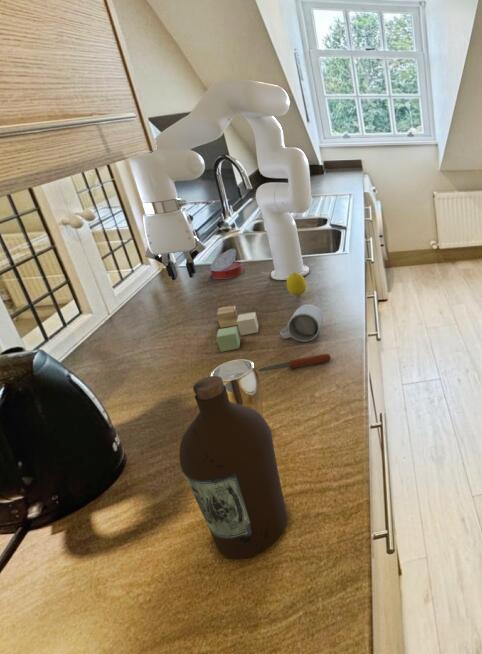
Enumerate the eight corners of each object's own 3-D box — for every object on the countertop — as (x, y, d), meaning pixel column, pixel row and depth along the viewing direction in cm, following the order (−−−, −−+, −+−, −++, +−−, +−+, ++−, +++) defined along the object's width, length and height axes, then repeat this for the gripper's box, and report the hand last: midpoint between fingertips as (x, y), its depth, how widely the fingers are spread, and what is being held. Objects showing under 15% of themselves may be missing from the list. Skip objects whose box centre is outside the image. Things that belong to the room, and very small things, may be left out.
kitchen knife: (331, 359, 106) (329, 351, 105) (331, 362, 105) (330, 354, 104) (258, 373, 101) (256, 365, 101) (258, 376, 100) (256, 368, 99)
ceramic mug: (325, 325, 121) (320, 299, 118) (321, 340, 114) (316, 313, 111) (285, 330, 120) (279, 303, 117) (278, 345, 113) (271, 318, 110)
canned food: (242, 287, 161) (237, 268, 154) (211, 287, 158) (204, 268, 151) (245, 263, 168) (240, 244, 160) (215, 264, 165) (209, 244, 158)
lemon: (310, 293, 142) (306, 269, 139) (303, 300, 137) (298, 276, 134) (294, 292, 143) (289, 269, 140) (286, 300, 138) (280, 276, 134)
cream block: (241, 328, 122) (238, 314, 120) (258, 325, 123) (255, 311, 121) (240, 335, 118) (236, 321, 116) (257, 332, 119) (254, 318, 118)
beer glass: (225, 440, 82) (203, 370, 76) (263, 421, 86) (245, 353, 80) (239, 460, 77) (217, 387, 71) (279, 439, 81) (261, 368, 75)
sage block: (222, 344, 114) (218, 329, 113) (240, 340, 116) (236, 326, 114) (220, 352, 111) (216, 337, 109) (239, 348, 112) (235, 333, 110)
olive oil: (241, 494, 70) (198, 356, 60) (305, 502, 69) (271, 361, 59) (193, 559, 61) (133, 407, 51) (266, 569, 59) (218, 414, 49)
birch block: (222, 321, 126) (218, 308, 124) (238, 318, 127) (235, 305, 125) (220, 328, 122) (216, 314, 121) (237, 325, 124) (233, 311, 122)
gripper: (202, 200, 115) (220, 267, 122) (127, 207, 110) (150, 277, 117) (198, 206, 108) (217, 277, 116) (117, 214, 103) (143, 287, 111)
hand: (183, 276), depth 116 cm, fingers open, 3 cm apart
